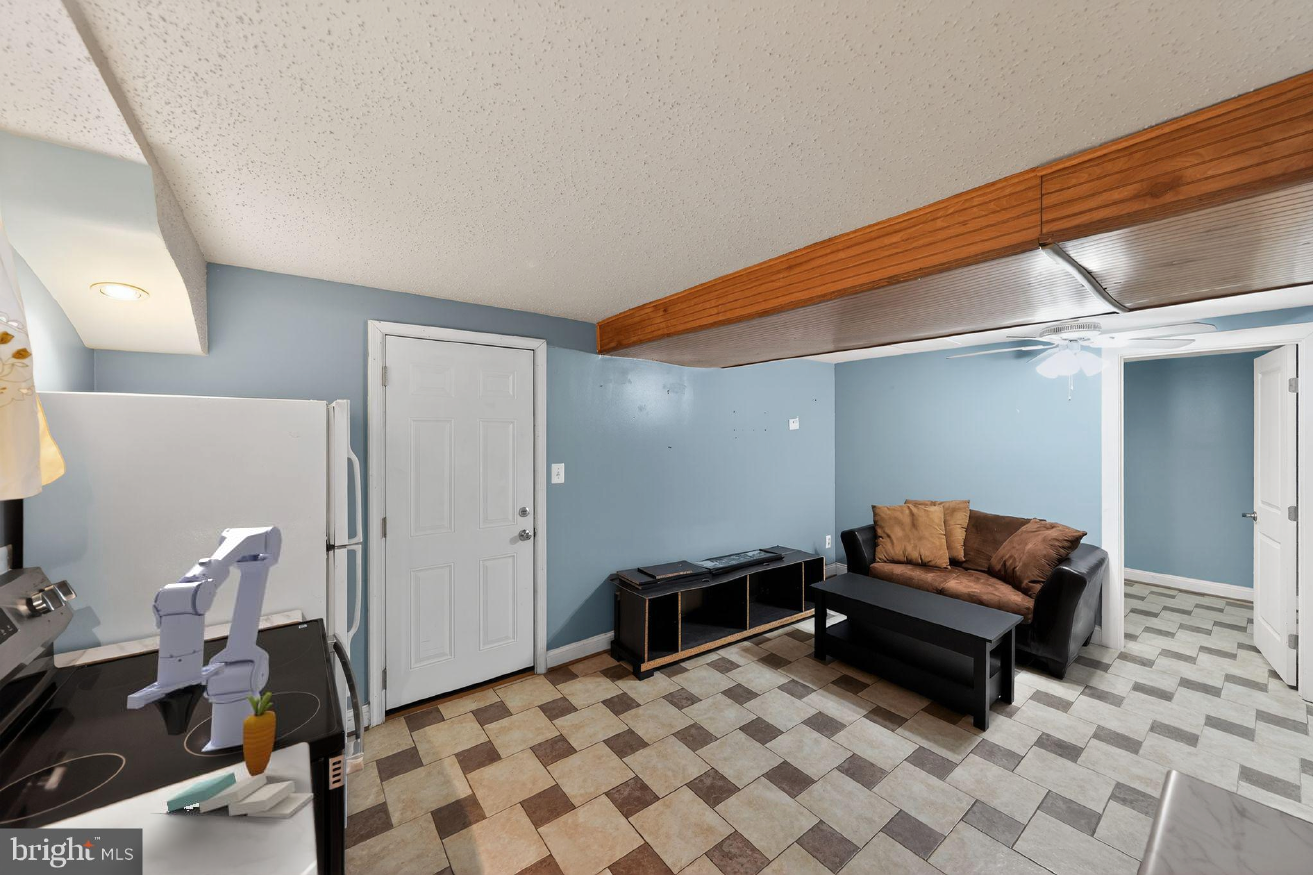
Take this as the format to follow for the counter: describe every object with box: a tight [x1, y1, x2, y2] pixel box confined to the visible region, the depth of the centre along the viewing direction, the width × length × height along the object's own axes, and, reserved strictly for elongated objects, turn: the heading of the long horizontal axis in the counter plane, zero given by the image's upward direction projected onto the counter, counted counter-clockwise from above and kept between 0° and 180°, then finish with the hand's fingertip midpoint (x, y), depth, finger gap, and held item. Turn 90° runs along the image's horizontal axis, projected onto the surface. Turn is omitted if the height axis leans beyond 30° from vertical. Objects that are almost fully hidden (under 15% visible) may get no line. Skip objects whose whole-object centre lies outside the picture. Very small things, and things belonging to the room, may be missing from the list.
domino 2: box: [228, 780, 296, 816], centre depth 81 cm, size 2×5×7 cm
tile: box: [166, 771, 237, 812], centre depth 83 cm, size 2×5×7 cm
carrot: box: [242, 691, 277, 777], centre depth 90 cm, size 5×5×15 cm
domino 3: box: [247, 792, 314, 819], centre depth 81 cm, size 2×5×7 cm
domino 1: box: [199, 772, 268, 813], centre depth 82 cm, size 2×5×7 cm
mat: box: [165, 804, 248, 818], centre depth 82 cm, size 16×6×1 cm, turn 84°
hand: (177, 733), depth 86 cm, fingers closed
